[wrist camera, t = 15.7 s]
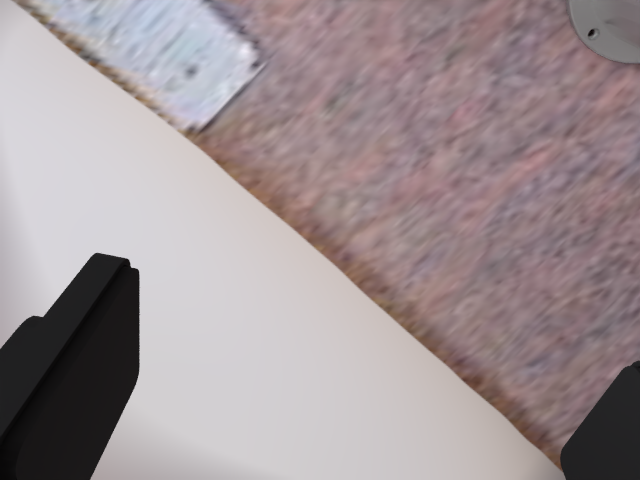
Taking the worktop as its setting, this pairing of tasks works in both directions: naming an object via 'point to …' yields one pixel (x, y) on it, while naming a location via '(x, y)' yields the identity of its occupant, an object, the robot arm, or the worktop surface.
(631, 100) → the worktop surface
